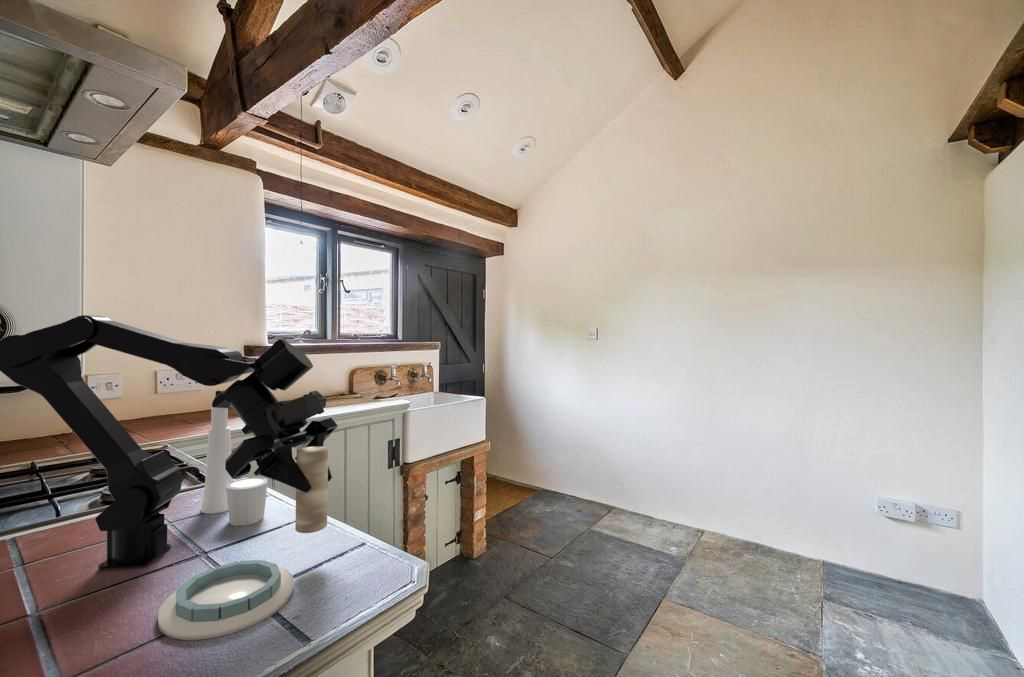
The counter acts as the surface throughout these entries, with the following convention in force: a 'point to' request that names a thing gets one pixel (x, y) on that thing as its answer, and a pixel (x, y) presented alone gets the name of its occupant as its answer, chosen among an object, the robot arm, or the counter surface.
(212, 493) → the cosmetic bottle
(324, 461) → the birch cylinder
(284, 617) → the counter surface
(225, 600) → the ring dish
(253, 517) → the white cup
